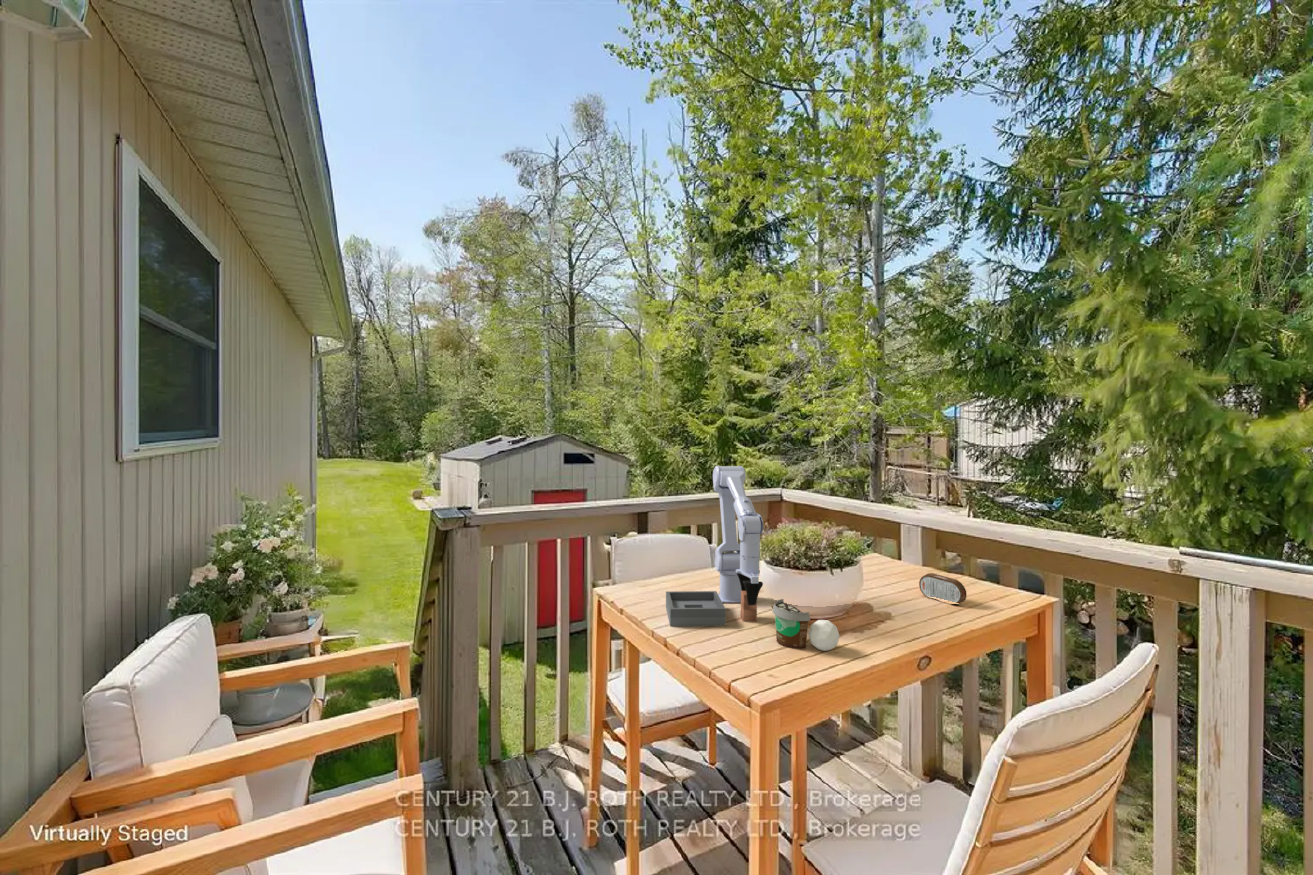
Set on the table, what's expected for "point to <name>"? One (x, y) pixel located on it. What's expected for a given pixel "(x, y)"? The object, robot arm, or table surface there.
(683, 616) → the hole box
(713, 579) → the table surface
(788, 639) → the food container
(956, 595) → the tin
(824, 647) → the ball
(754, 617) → the peg
